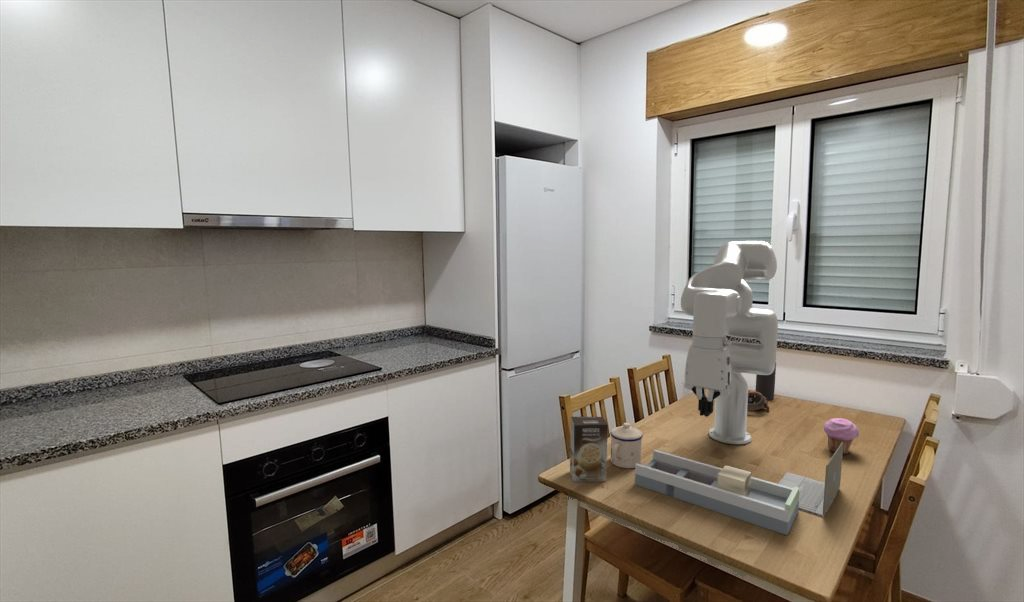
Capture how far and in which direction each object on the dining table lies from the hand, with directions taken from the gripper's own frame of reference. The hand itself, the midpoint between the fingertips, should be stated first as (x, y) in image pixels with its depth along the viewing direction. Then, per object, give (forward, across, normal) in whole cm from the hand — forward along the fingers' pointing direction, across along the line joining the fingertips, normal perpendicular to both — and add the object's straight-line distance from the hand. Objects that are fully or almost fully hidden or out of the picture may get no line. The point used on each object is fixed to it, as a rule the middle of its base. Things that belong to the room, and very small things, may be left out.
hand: (705, 414), depth 123 cm
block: (+18, -8, 0) cm, 20 cm away
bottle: (+21, +6, -92) cm, 95 cm away
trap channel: (+21, -2, 0) cm, 21 cm away
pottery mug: (+21, +6, -74) cm, 77 cm away
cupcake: (+21, -24, -52) cm, 61 cm away
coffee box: (+21, +28, +10) cm, 36 cm away
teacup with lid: (+21, +24, -3) cm, 32 cm away
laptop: (+22, -20, -16) cm, 34 cm away
